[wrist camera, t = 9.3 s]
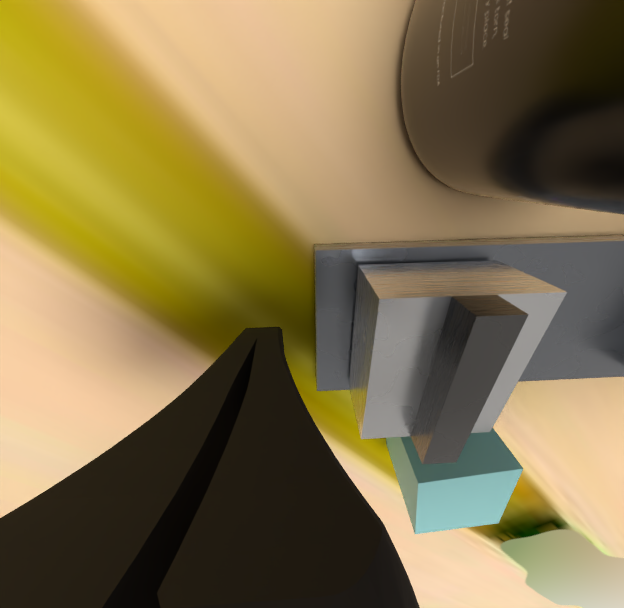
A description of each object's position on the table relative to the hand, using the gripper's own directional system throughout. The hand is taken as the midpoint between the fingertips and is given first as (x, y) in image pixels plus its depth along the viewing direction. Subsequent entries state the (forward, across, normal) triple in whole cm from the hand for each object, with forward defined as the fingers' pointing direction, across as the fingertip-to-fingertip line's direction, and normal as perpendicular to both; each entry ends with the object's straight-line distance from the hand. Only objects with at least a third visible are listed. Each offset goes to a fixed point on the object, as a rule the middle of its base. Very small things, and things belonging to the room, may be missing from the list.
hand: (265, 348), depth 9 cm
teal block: (+2, -8, +7) cm, 11 cm away
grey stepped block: (+2, -6, 0) cm, 6 cm away
